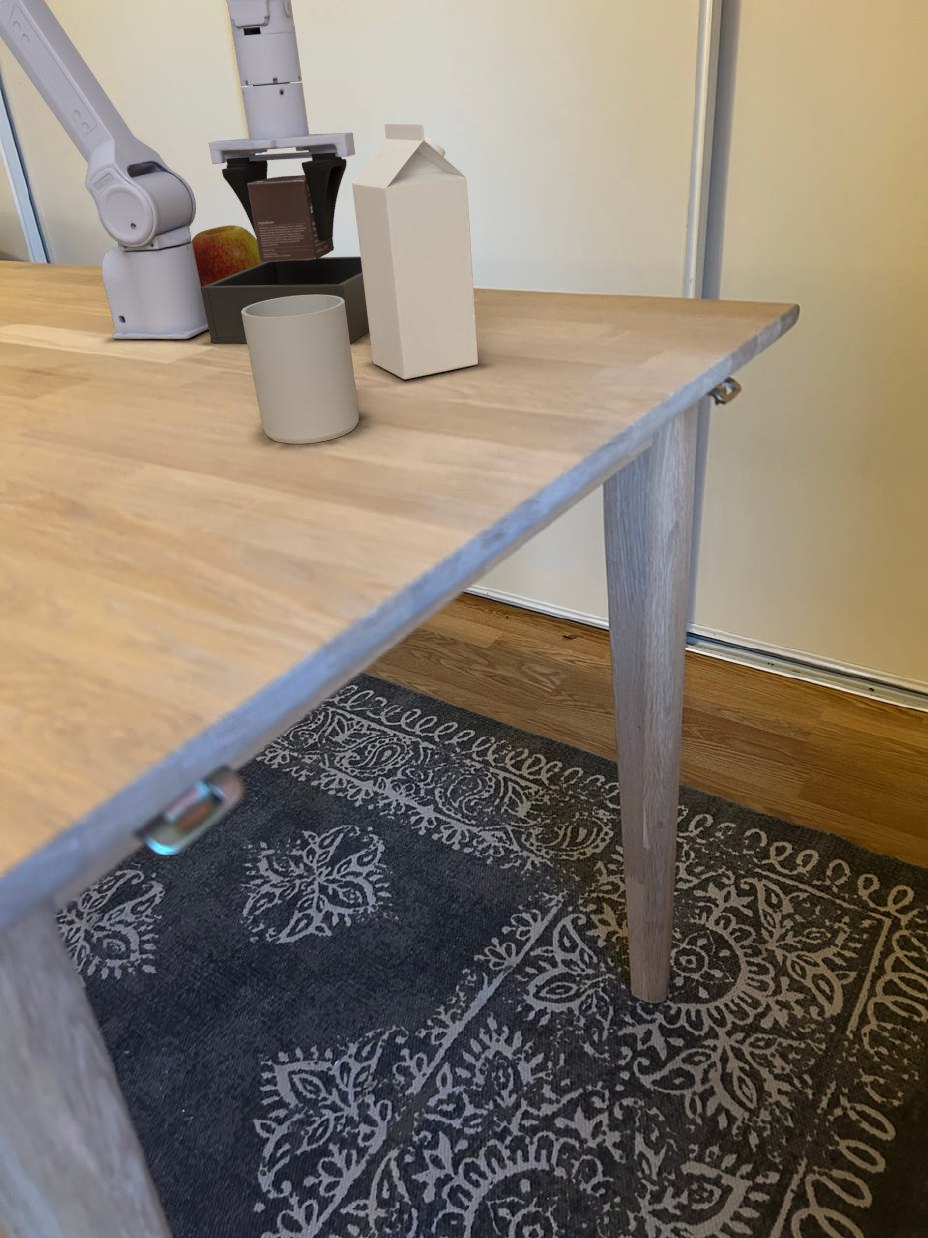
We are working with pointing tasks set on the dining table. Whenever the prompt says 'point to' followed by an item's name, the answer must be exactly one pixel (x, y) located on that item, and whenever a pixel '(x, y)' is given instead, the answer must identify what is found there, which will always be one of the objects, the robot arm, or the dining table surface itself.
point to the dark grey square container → (285, 292)
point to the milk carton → (416, 256)
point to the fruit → (224, 252)
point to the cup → (302, 367)
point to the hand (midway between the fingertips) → (294, 239)
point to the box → (285, 220)
